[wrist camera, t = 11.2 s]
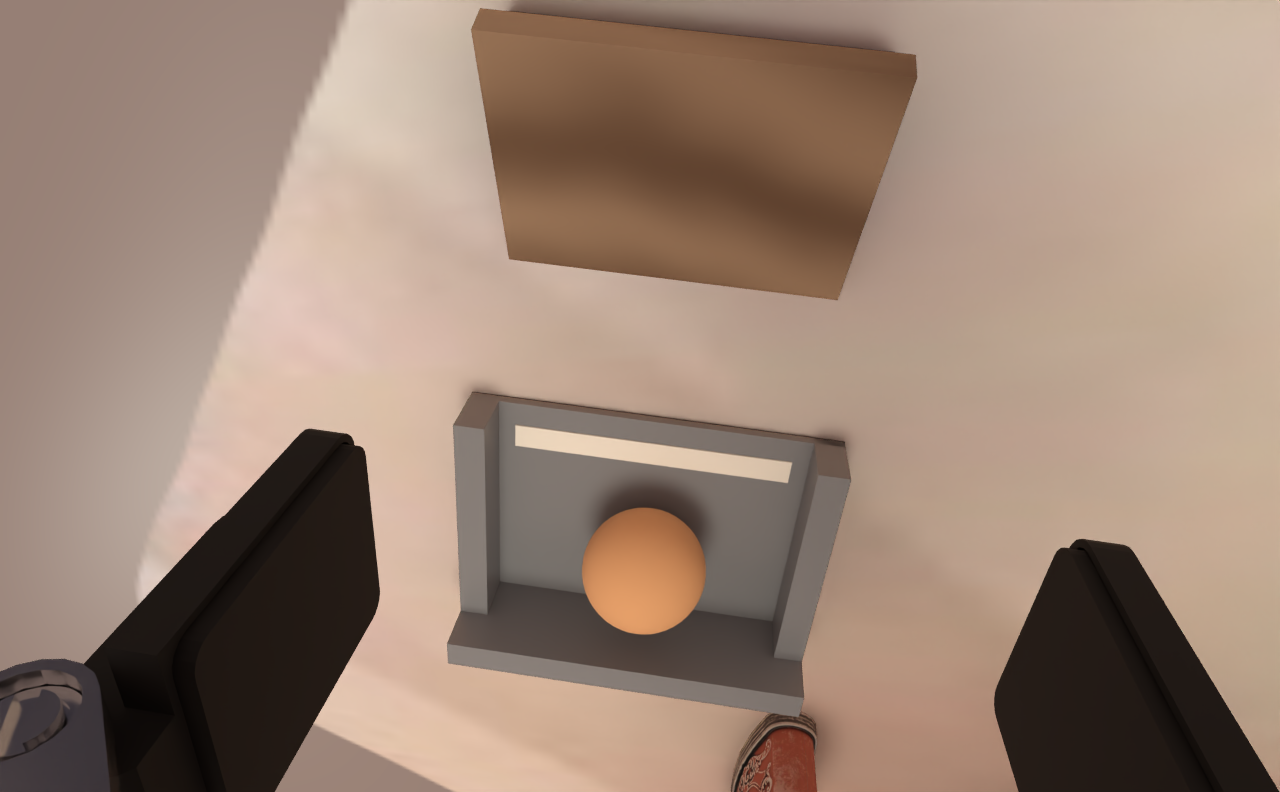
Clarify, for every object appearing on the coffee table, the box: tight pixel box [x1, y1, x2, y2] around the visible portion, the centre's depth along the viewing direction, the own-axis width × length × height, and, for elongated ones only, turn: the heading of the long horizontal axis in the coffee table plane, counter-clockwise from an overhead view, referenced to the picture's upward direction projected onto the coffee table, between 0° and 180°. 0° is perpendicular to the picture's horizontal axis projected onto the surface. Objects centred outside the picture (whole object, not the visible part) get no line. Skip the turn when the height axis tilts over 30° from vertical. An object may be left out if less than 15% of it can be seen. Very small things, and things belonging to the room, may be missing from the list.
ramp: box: [471, 8, 917, 300], centre depth 26 cm, size 9×12×5 cm
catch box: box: [447, 392, 851, 717], centre depth 33 cm, size 11×15×4 cm
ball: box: [582, 508, 706, 634], centre depth 33 cm, size 5×5×5 cm
